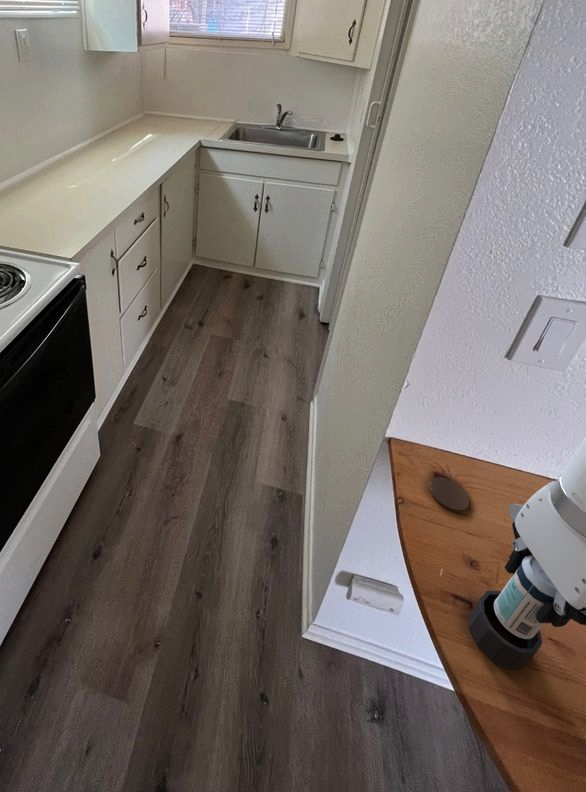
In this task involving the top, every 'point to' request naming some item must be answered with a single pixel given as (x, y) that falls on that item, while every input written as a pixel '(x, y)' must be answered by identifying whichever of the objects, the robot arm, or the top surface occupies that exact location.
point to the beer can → (524, 599)
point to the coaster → (449, 494)
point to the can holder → (499, 637)
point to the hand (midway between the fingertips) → (532, 593)
